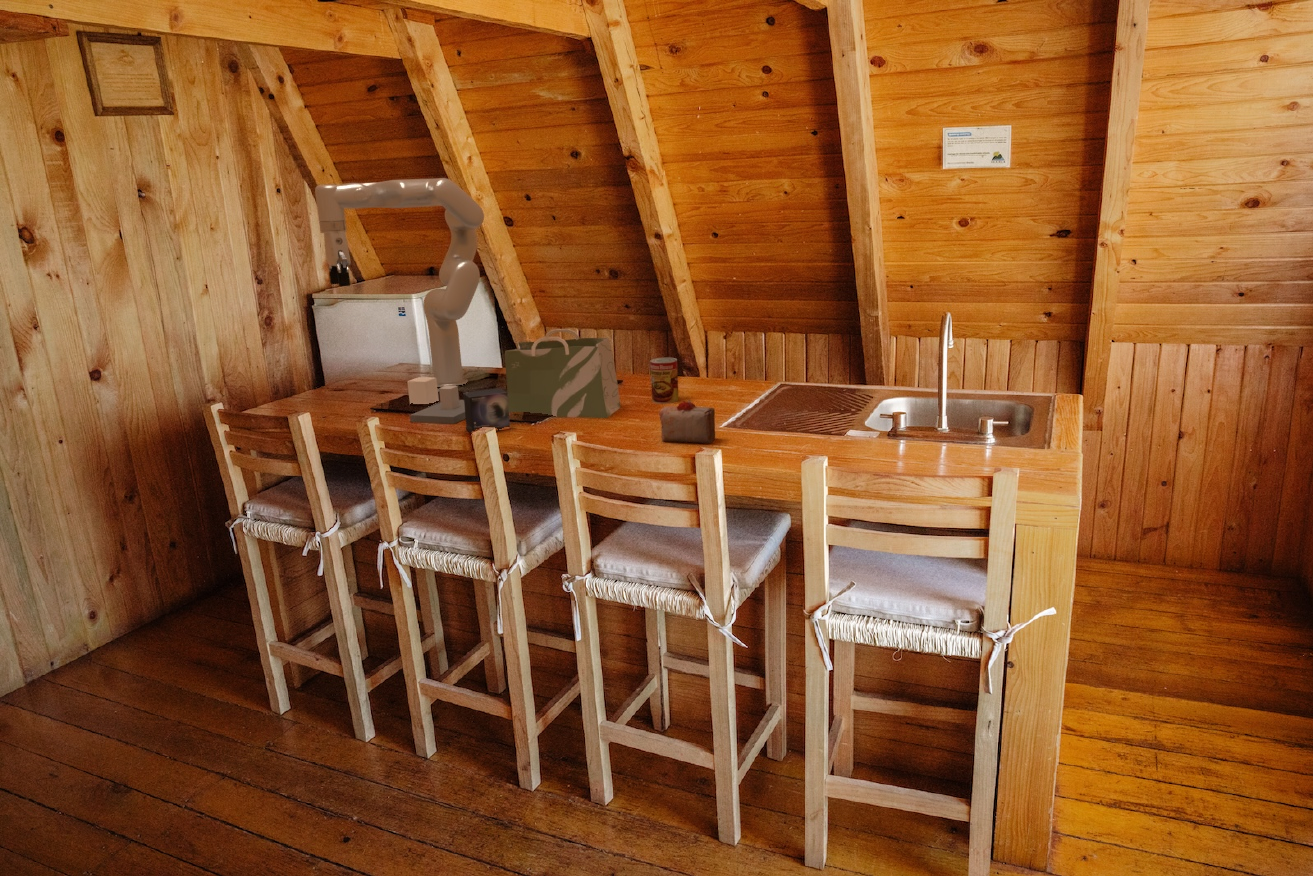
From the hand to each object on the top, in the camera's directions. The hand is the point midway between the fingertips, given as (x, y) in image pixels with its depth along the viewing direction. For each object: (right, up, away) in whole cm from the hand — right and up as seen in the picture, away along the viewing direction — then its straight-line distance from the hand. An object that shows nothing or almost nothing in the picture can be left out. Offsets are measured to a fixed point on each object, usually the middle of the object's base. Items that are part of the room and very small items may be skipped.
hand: (340, 285), depth 288 cm
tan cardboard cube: (+25, -36, +1) cm, 44 cm away
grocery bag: (+69, -39, -16) cm, 81 cm away
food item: (+104, -47, -52) cm, 125 cm away
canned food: (+98, -35, -8) cm, 105 cm away
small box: (+51, -44, -33) cm, 75 cm away
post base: (+37, -40, -14) cm, 56 cm away
